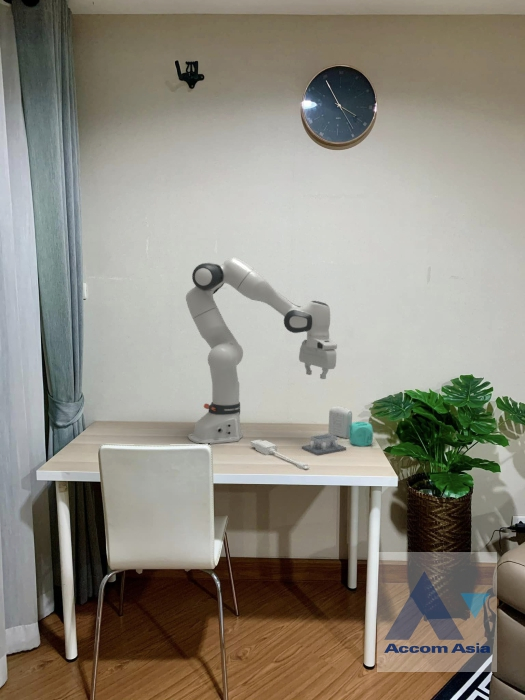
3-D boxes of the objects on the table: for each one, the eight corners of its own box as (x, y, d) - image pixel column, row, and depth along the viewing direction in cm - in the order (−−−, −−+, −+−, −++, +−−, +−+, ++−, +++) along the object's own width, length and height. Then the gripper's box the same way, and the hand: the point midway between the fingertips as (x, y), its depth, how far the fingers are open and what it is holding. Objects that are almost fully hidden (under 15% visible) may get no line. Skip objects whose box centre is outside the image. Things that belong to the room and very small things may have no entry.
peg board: (317, 455, 228) (317, 445, 227) (301, 448, 236) (301, 438, 235) (346, 450, 235) (346, 439, 234) (329, 443, 243) (330, 433, 243)
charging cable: (301, 474, 210) (302, 465, 209) (249, 447, 236) (249, 439, 235) (312, 471, 213) (313, 462, 212) (260, 445, 239) (260, 437, 238)
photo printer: (352, 437, 253) (354, 408, 252) (346, 439, 250) (347, 409, 248) (332, 432, 260) (333, 404, 259) (326, 434, 257) (327, 405, 255)
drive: (318, 450, 231) (318, 439, 230) (310, 446, 235) (310, 436, 235) (336, 446, 236) (337, 436, 235) (328, 443, 240) (328, 433, 239)
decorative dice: (352, 446, 240) (353, 426, 239) (349, 440, 248) (349, 421, 247) (372, 446, 240) (373, 426, 239) (368, 440, 248) (369, 421, 247)
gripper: (296, 339, 248) (294, 372, 250) (326, 346, 231) (324, 381, 233) (308, 338, 251) (307, 371, 253) (339, 345, 234) (337, 380, 236)
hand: (315, 376), depth 243 cm, fingers open, 8 cm apart
